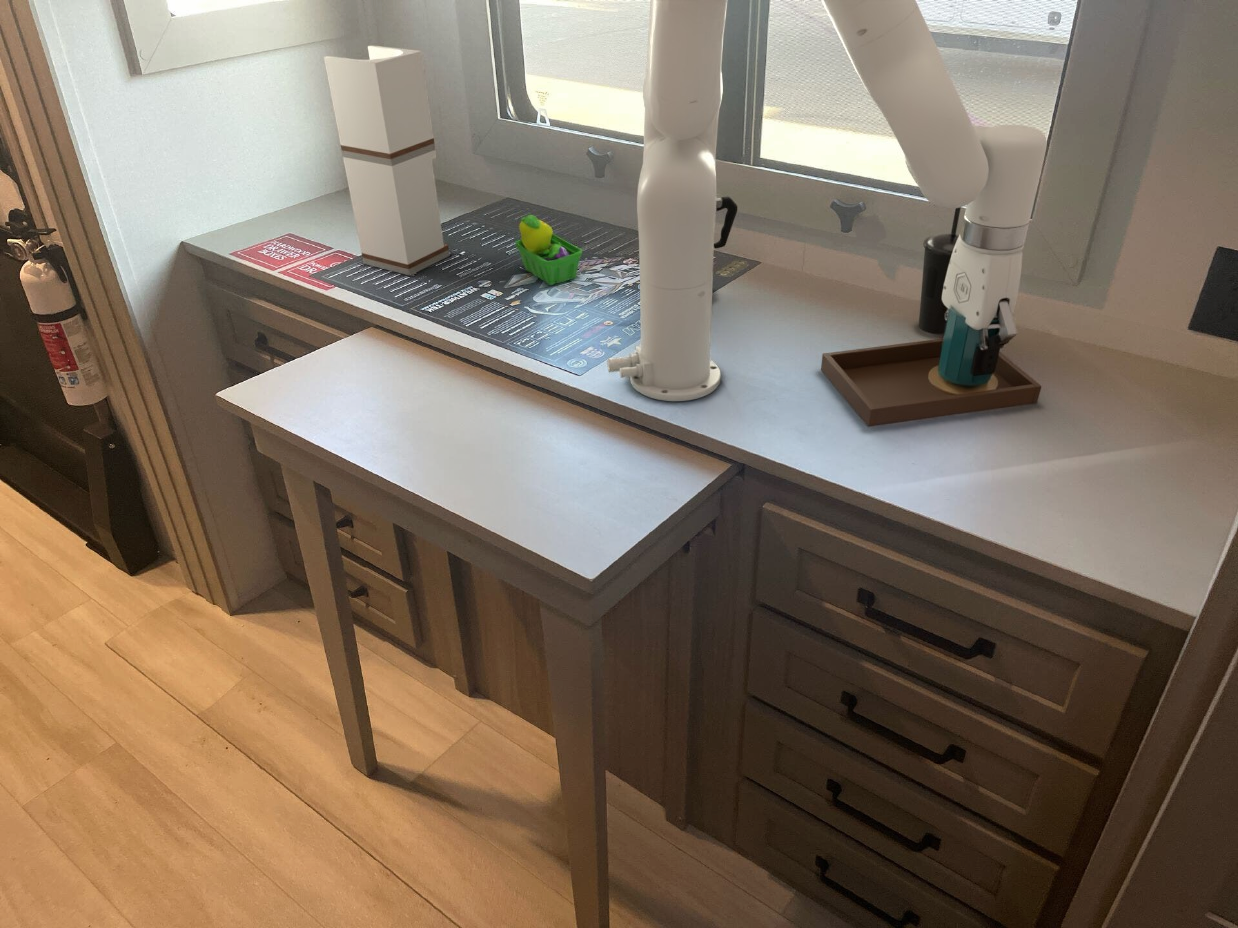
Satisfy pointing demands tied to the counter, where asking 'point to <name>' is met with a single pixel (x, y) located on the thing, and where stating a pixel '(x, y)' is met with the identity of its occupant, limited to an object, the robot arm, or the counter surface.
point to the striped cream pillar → (389, 156)
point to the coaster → (956, 388)
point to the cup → (960, 351)
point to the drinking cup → (936, 278)
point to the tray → (916, 384)
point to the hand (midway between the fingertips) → (967, 359)
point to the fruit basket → (546, 252)
